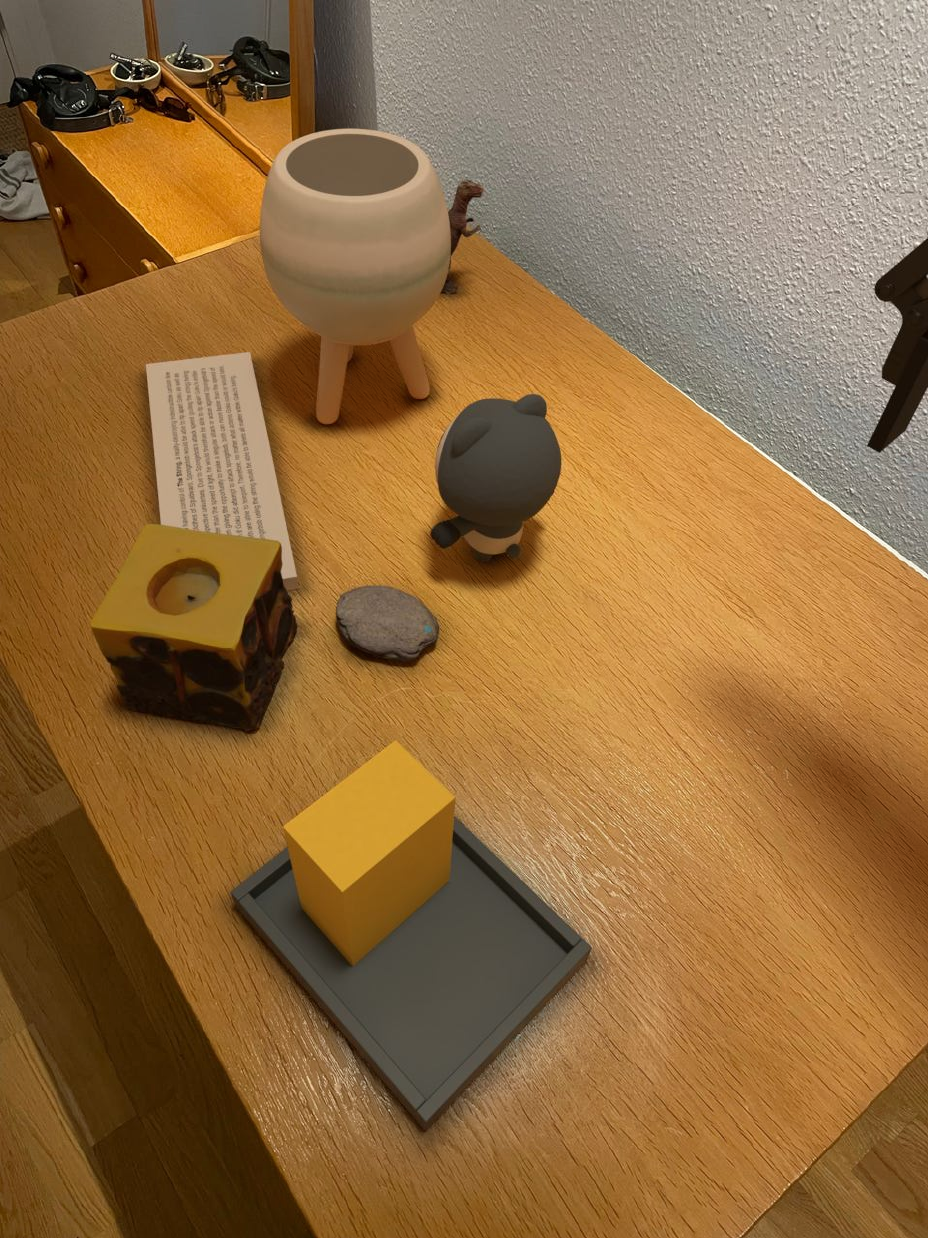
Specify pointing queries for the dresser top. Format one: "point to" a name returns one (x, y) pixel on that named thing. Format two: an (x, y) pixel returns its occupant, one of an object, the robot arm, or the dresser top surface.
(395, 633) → the stone
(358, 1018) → the tray
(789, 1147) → the dresser top surface
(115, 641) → the candle
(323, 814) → the yellow block
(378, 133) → the planter
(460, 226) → the dinosaur model
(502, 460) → the toy
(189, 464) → the plaque
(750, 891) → the dresser top surface
